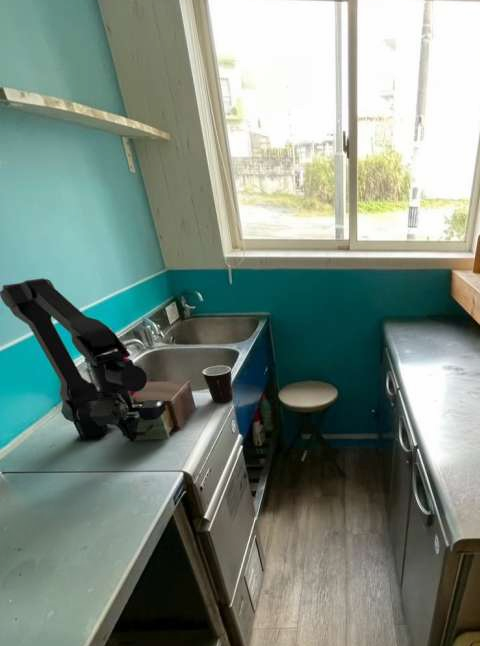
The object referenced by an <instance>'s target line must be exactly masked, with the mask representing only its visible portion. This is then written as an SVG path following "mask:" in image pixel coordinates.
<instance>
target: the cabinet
mask: <svg viewBox="0 0 480 646" xmlns="http://www.w3.org/2000/svg"><path fill="white" fill-rule="evenodd" d="M131 397H132V398H135V400H136V402H135V403H134V404H143V403H144V402H145V401H146V400H161V401H162V402H163V403H164V404H169V405H170V408H171V411H172V415H173V418H174V421H175V424H176V425H175V426H174V427H173V429H172V430H171V431H180V430H182V428H183V427H184V426H185V424H186V423H187V421H188V419H189V418H190V417H191V416H192V414H193V413H194V412H195V411H196V409H197V407H196V402H195V400H194V395H193V391H192V387H191V383H190V381H189V380H182V381H181V380H175V381H173V380H171V381H170V380H169V381H167V380H166V381H165V380H164V381H147V382H146V385H145V387H144V388H143V389H142V390H140V391H137V392H135V393H134V394H133V395H132V396H131Z"/></svg>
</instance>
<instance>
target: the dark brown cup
mask: <svg viewBox="0 0 480 646" xmlns="http://www.w3.org/2000/svg"><path fill="white" fill-rule="evenodd" d="M202 376H203V378H204V380H205V383H206V386H207V389H208V391H209V394H210V397H211V400H212V402H213V403H214V404H218V405H219V404H220V405H221V404H227V403H230V402H232V401H233V399H234V392H233V391H234V390H233V378H232V368H231V367H230V366H228V365H214V366H210V367H207V368H205V369H203V370H202Z"/></svg>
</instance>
